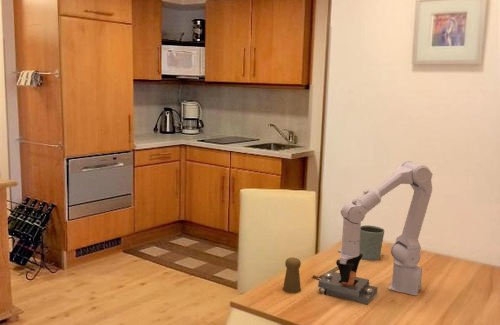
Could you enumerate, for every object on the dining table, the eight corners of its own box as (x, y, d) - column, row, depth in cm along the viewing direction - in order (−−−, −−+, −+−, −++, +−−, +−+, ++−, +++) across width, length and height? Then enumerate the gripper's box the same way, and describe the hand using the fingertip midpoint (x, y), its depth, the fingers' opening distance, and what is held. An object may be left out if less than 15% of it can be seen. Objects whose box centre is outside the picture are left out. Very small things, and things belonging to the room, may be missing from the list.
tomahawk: (326, 286, 178) (327, 283, 178) (311, 279, 182) (311, 276, 182) (357, 269, 193) (357, 267, 193) (342, 263, 198) (343, 261, 197)
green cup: (352, 253, 209) (354, 226, 207) (373, 252, 212) (375, 224, 210) (365, 262, 199) (367, 233, 197) (387, 260, 202) (389, 231, 201)
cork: (289, 284, 176) (290, 254, 174) (304, 289, 172) (305, 258, 170) (279, 289, 171) (280, 258, 169) (294, 294, 167) (295, 263, 166)
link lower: (377, 292, 171) (377, 284, 170) (367, 304, 161) (368, 295, 161) (337, 283, 178) (338, 275, 177) (326, 294, 168) (326, 286, 168)
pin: (357, 291, 171) (358, 272, 170) (352, 296, 167) (353, 276, 166) (343, 288, 174) (344, 269, 173) (337, 293, 170) (338, 273, 168)
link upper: (368, 290, 172) (369, 276, 172) (358, 302, 163) (359, 287, 162) (329, 281, 179) (330, 268, 178) (317, 292, 170) (318, 278, 169)
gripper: (346, 231, 175) (344, 268, 178) (331, 242, 163) (329, 282, 165) (366, 235, 172) (363, 273, 174) (352, 246, 159) (350, 287, 162)
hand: (348, 278), depth 169 cm, fingers open, 7 cm apart
